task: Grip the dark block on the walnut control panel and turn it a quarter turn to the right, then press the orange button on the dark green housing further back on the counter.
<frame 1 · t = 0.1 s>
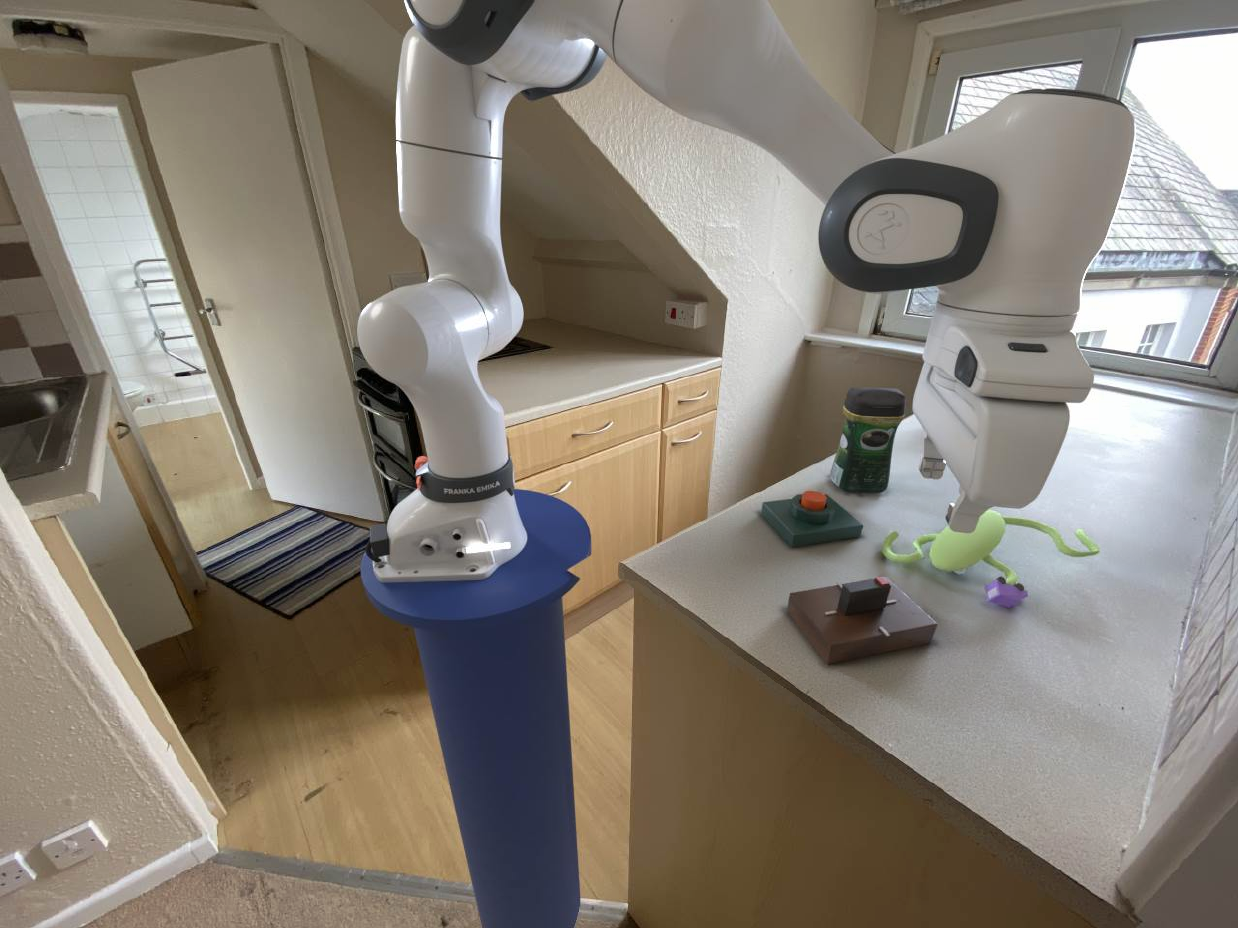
hand: (942, 499, 47), 23 cm above the counter, tool pointing down, fingers open, 8 cm apart
white folded napkin: (955, 427, 124), on the counter
figurine: (981, 558, 78), on the counter
knob panel: (856, 626, 65), on the counter
coffee jar: (856, 485, 98), on the counter
dark block: (864, 595, 63), point 5 cm above the counter, hinge at 0.0°
button box: (809, 524, 86), on the counter
start button: (813, 500, 84), point 4 cm above the counter, slide at 0.1 cm
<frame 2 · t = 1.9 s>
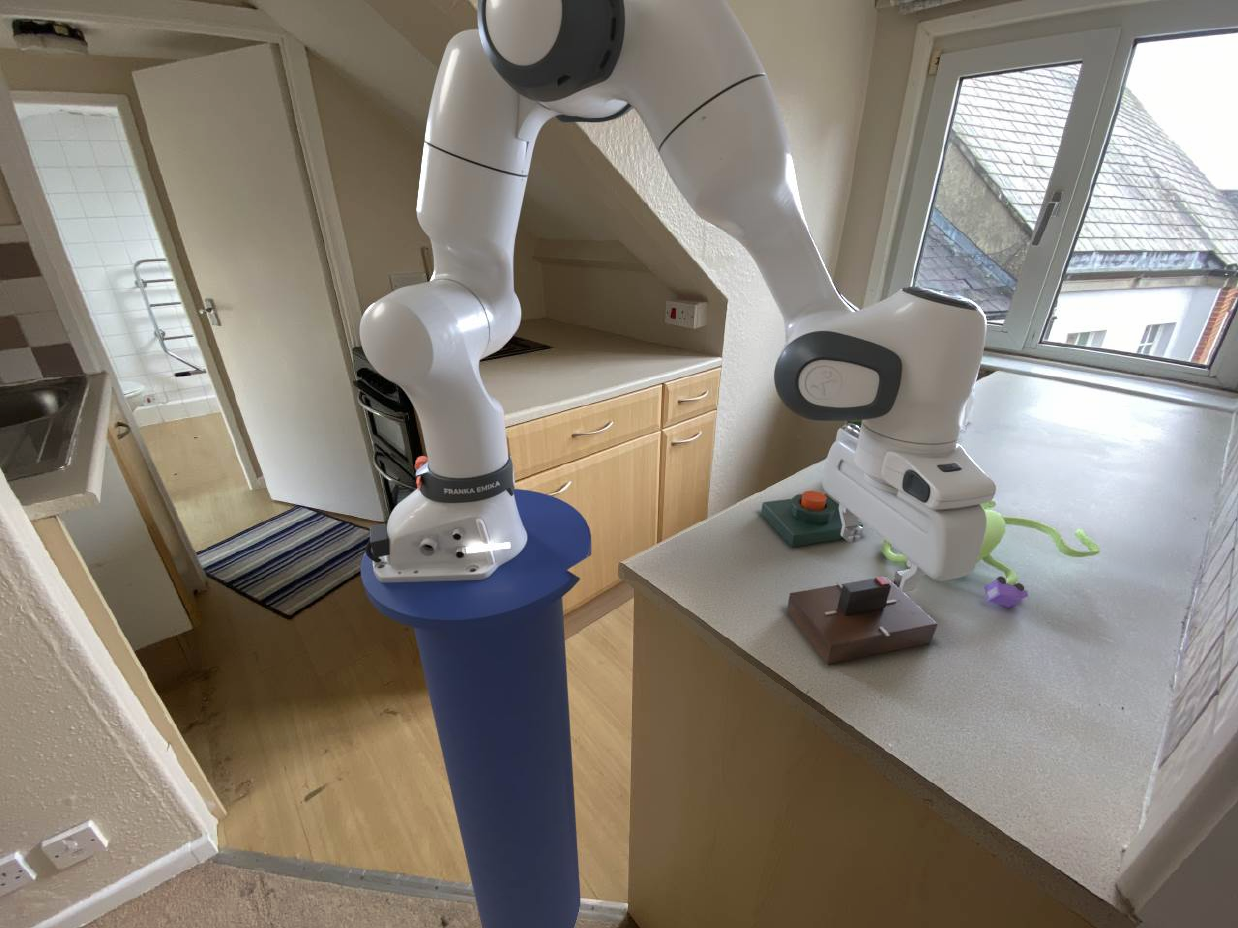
hand: (875, 561, 61), 10 cm above the counter, tool pointing down, fingers open, 8 cm apart
nothing on the counter moved.
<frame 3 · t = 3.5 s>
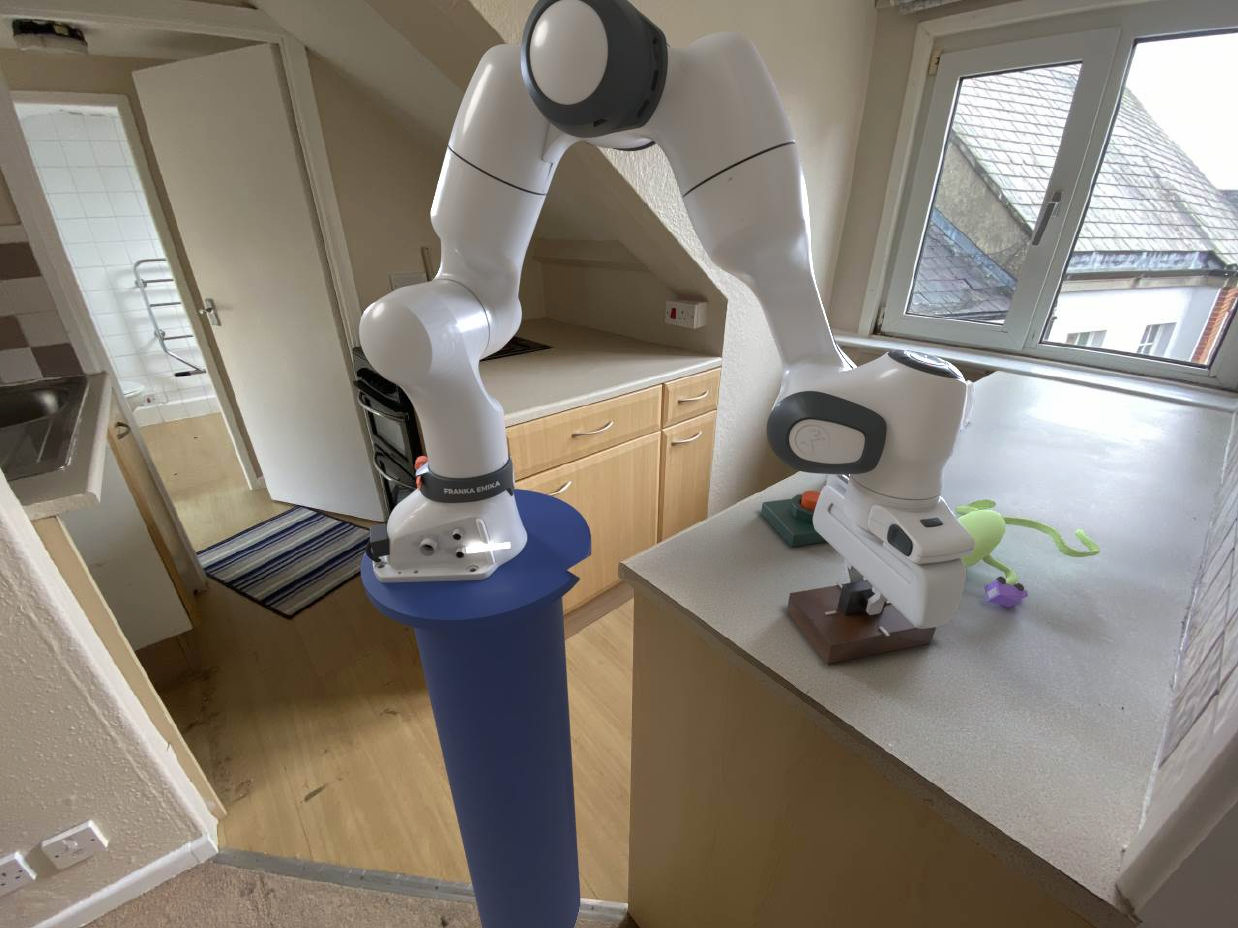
hand: (862, 602, 63), 4 cm above the counter, tool pointing down, fingers closed on dark block, 2 cm apart
dark block: (864, 595, 63), point 5 cm above the counter, hinge at 0.0°, touching gripper
everything else where it was.
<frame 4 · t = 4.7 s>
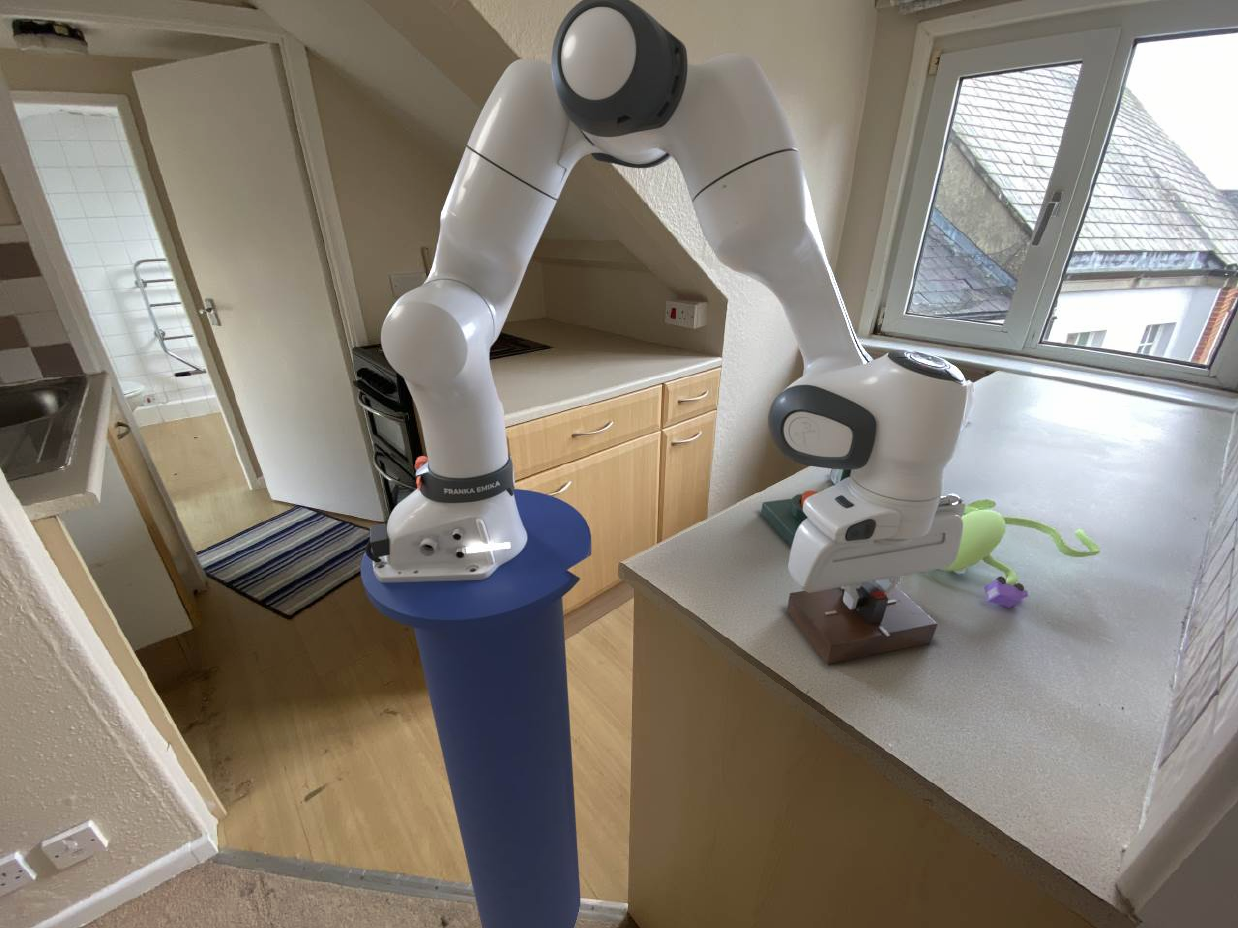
hand: (862, 602, 63), 4 cm above the counter, tool pointing down, fingers closed on dark block, 2 cm apart
dark block: (864, 595, 63), point 5 cm above the counter, hinge at -89.5°, touching gripper
everything else where it was.
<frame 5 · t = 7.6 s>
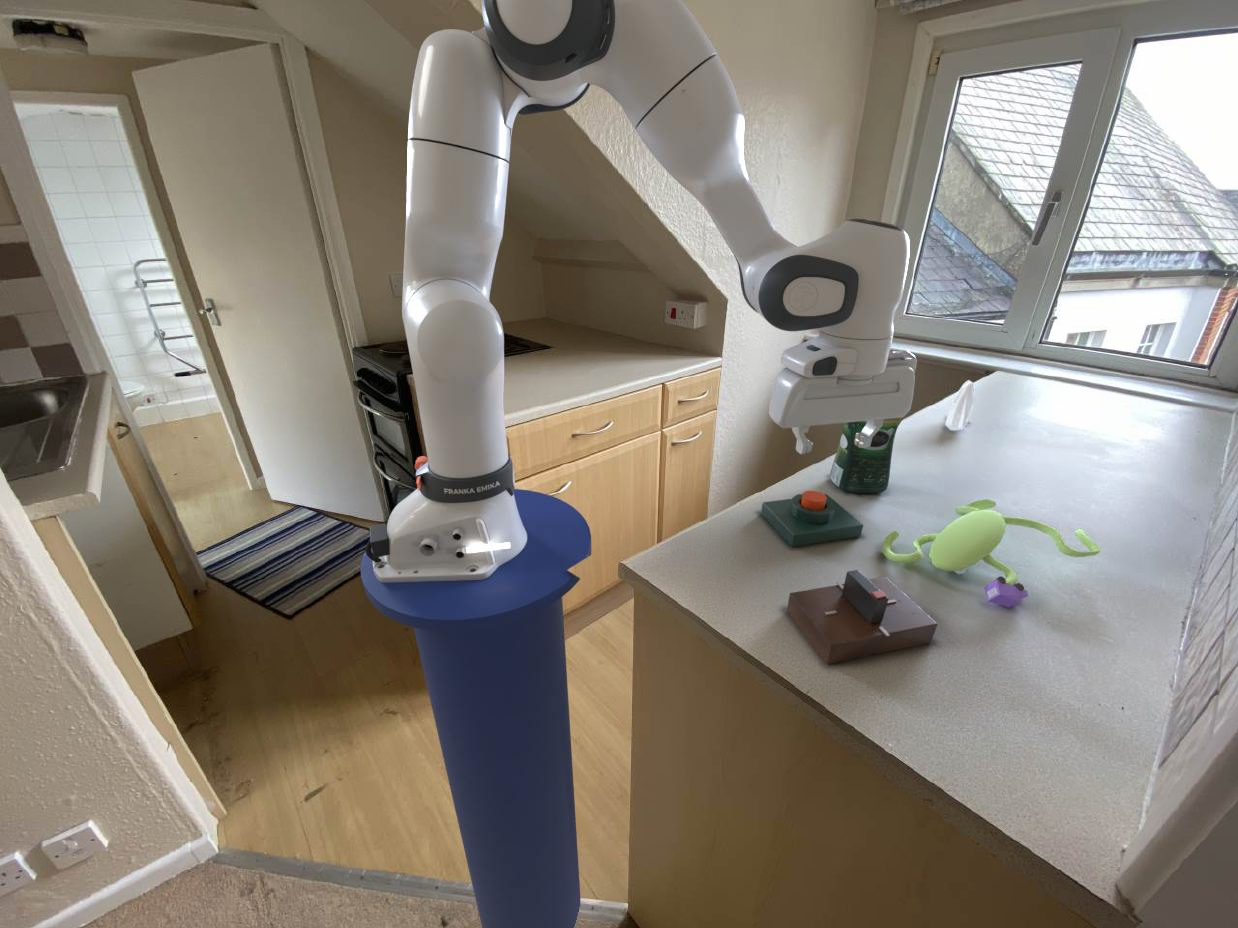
hand: (832, 449, 76), 15 cm above the counter, tool pointing down, fingers open, 8 cm apart
dark block: (864, 595, 63), point 5 cm above the counter, hinge at -89.5°
everything else where it was.
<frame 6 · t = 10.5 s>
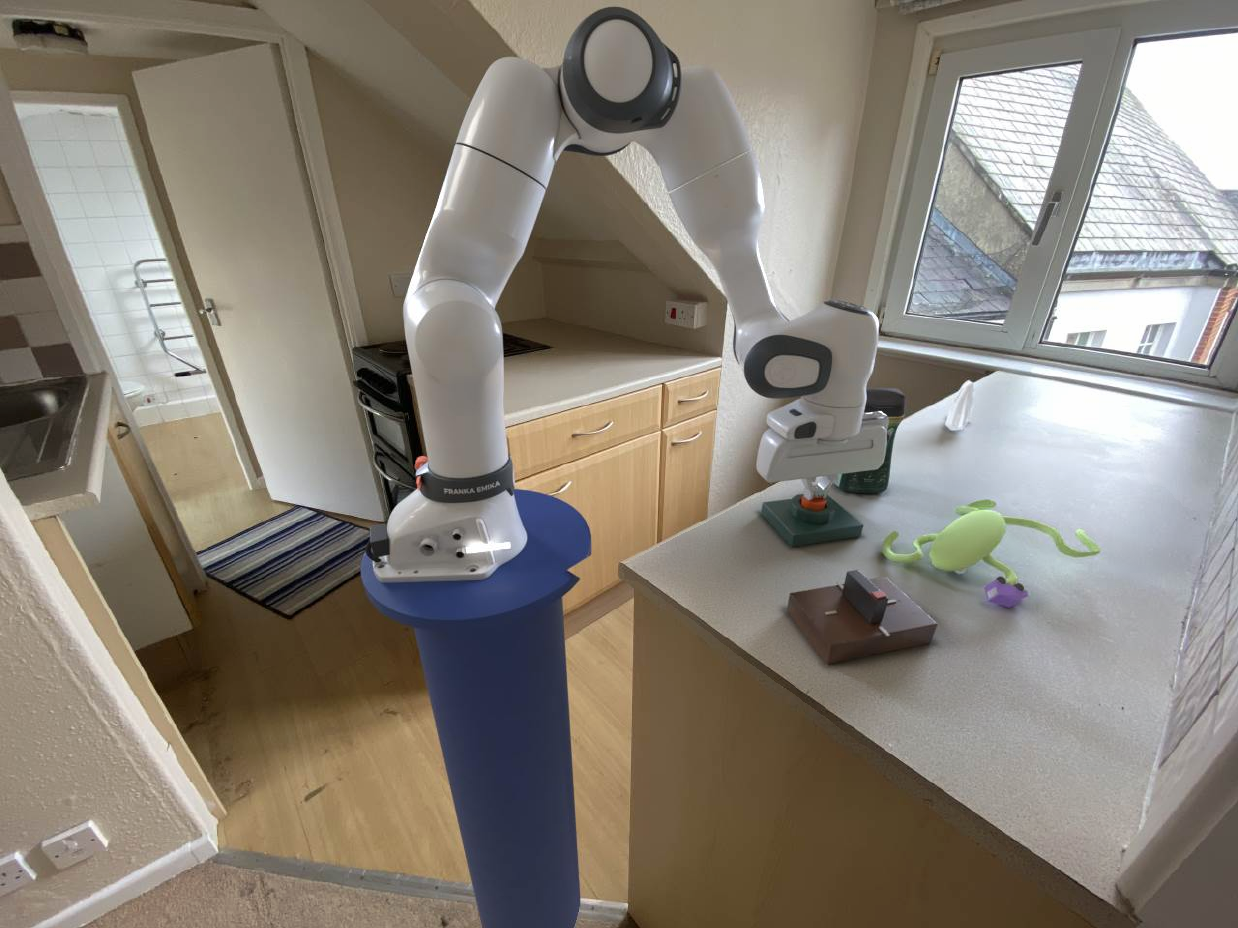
hand: (814, 497, 84), 5 cm above the counter, tool pointing down, fingers closed, pressing on start button
start button: (813, 503, 84), point 4 cm above the counter, slide at -0.3 cm, touching gripper
everything else where it was.
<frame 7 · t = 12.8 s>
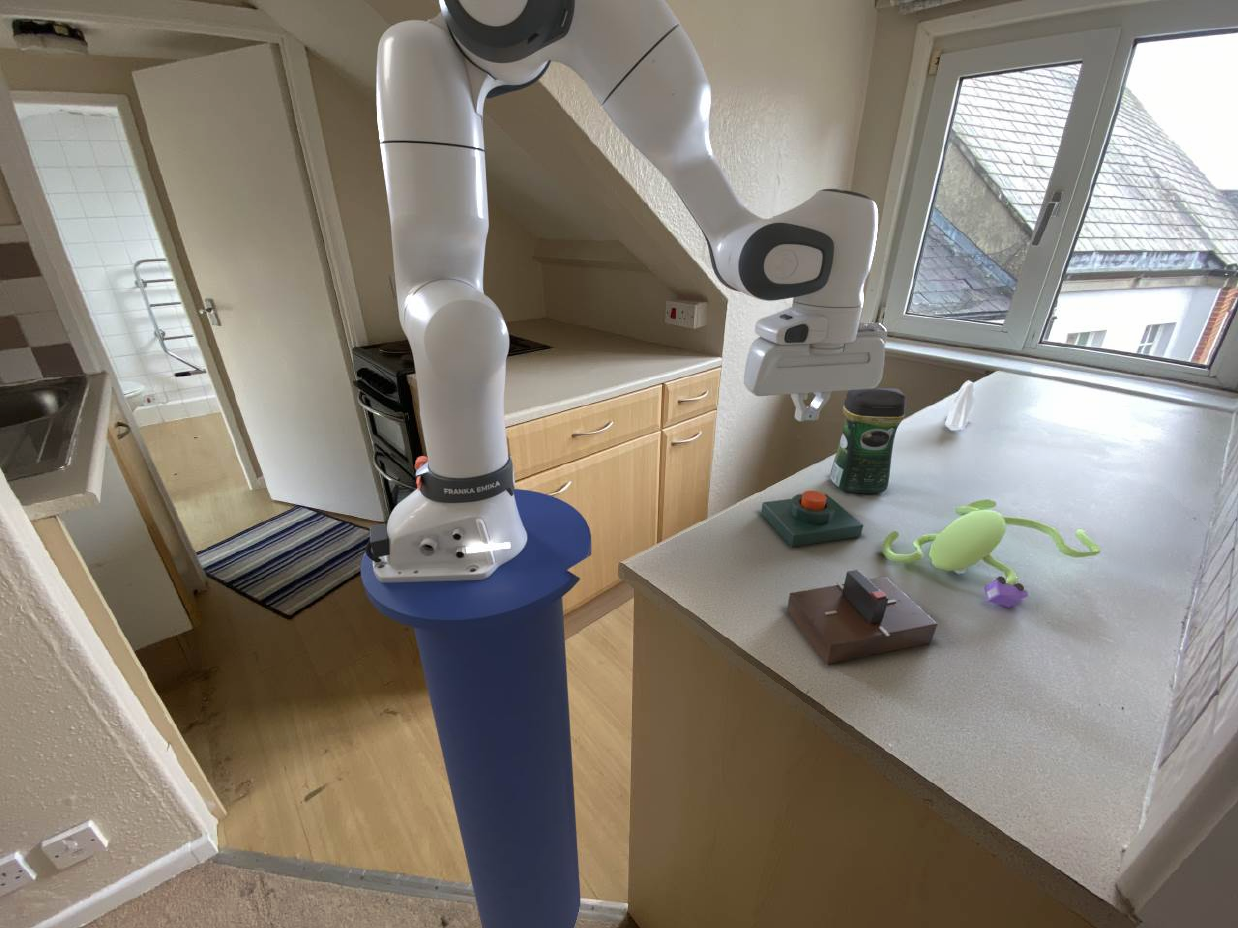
hand: (806, 419, 78), 18 cm above the counter, tool pointing down, fingers closed
start button: (813, 500, 84), point 4 cm above the counter, slide at 0.1 cm
everything else where it was.
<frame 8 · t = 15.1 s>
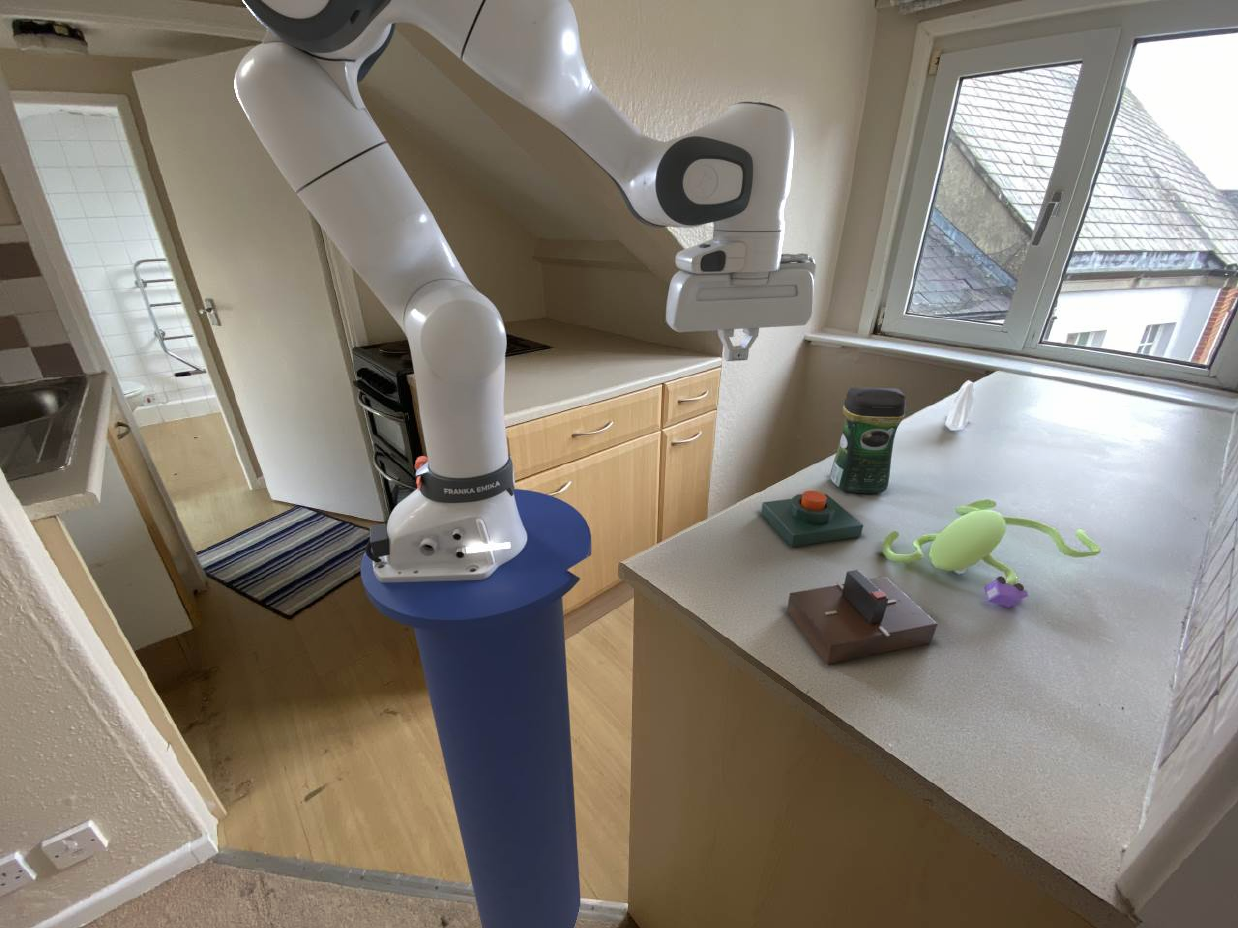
hand: (735, 360, 74), 27 cm above the counter, tool pointing down, fingers closed
nothing on the counter moved.
at the end: dark block at -90° (first picture: +0°); start button pushed in 1.0 cm at the most during the clip, back to where it started at the end; start button slide at 0.1 cm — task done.
